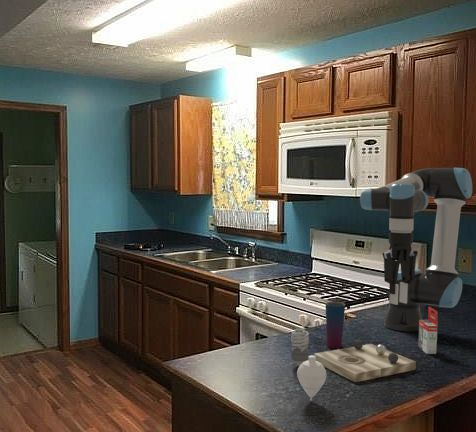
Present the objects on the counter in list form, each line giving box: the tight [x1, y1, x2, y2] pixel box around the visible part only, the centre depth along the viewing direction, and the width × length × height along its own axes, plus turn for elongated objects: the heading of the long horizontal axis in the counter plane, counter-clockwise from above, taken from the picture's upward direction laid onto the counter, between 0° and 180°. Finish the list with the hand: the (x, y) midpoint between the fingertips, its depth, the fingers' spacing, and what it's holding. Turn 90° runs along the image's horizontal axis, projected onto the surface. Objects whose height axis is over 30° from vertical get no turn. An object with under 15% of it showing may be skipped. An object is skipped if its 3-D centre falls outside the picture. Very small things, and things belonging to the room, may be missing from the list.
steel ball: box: [376, 344, 387, 355], centre depth 172 cm, size 3×3×3 cm
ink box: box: [417, 306, 439, 355], centre depth 184 cm, size 4×8×15 cm, turn 2°
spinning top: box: [296, 354, 327, 402], centre depth 141 cm, size 8×8×12 cm
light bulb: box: [290, 328, 310, 367], centre depth 166 cm, size 6×6×12 cm
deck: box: [313, 343, 417, 383], centre depth 169 cm, size 24×20×2 cm
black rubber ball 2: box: [388, 352, 399, 363], centre depth 164 cm, size 3×3×3 cm
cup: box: [325, 301, 346, 349], centre depth 188 cm, size 7×7×15 cm
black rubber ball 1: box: [353, 339, 364, 349], centre depth 177 cm, size 3×3×3 cm
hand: (398, 303), depth 174 cm, fingers open, 3 cm apart
